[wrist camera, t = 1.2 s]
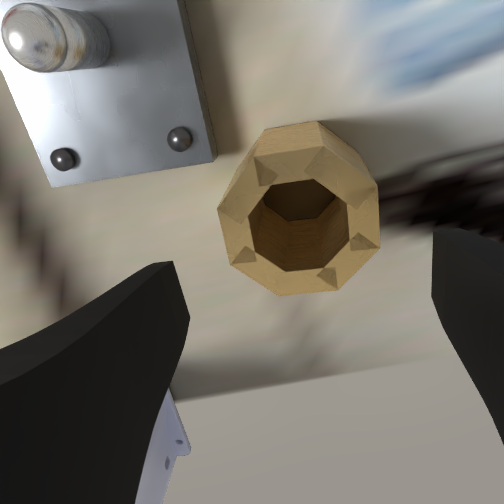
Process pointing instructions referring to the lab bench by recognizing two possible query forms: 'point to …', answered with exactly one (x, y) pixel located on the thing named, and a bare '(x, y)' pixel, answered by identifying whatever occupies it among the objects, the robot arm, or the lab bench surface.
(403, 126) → the lab bench surface
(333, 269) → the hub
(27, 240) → the lab bench surface
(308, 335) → the lab bench surface
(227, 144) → the lab bench surface
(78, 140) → the block
